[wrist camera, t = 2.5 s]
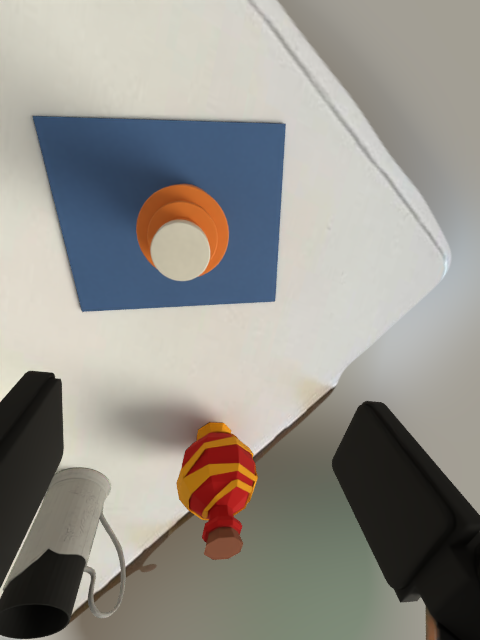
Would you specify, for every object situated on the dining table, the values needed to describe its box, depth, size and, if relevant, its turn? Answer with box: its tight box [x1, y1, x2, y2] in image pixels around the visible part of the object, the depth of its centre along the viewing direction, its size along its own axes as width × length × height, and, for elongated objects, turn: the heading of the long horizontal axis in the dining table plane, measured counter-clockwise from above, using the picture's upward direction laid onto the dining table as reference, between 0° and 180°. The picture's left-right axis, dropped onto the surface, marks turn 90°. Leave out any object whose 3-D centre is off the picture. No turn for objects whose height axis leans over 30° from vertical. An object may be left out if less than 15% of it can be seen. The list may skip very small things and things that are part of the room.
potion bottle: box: [177, 422, 258, 560], centre depth 37 cm, size 10×10×15 cm
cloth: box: [33, 116, 286, 312], centre depth 30 cm, size 22×18×1 cm
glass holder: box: [0, 468, 126, 639], centre depth 38 cm, size 9×14×15 cm, turn 49°
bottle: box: [136, 184, 229, 281], centre depth 22 cm, size 6×6×17 cm
